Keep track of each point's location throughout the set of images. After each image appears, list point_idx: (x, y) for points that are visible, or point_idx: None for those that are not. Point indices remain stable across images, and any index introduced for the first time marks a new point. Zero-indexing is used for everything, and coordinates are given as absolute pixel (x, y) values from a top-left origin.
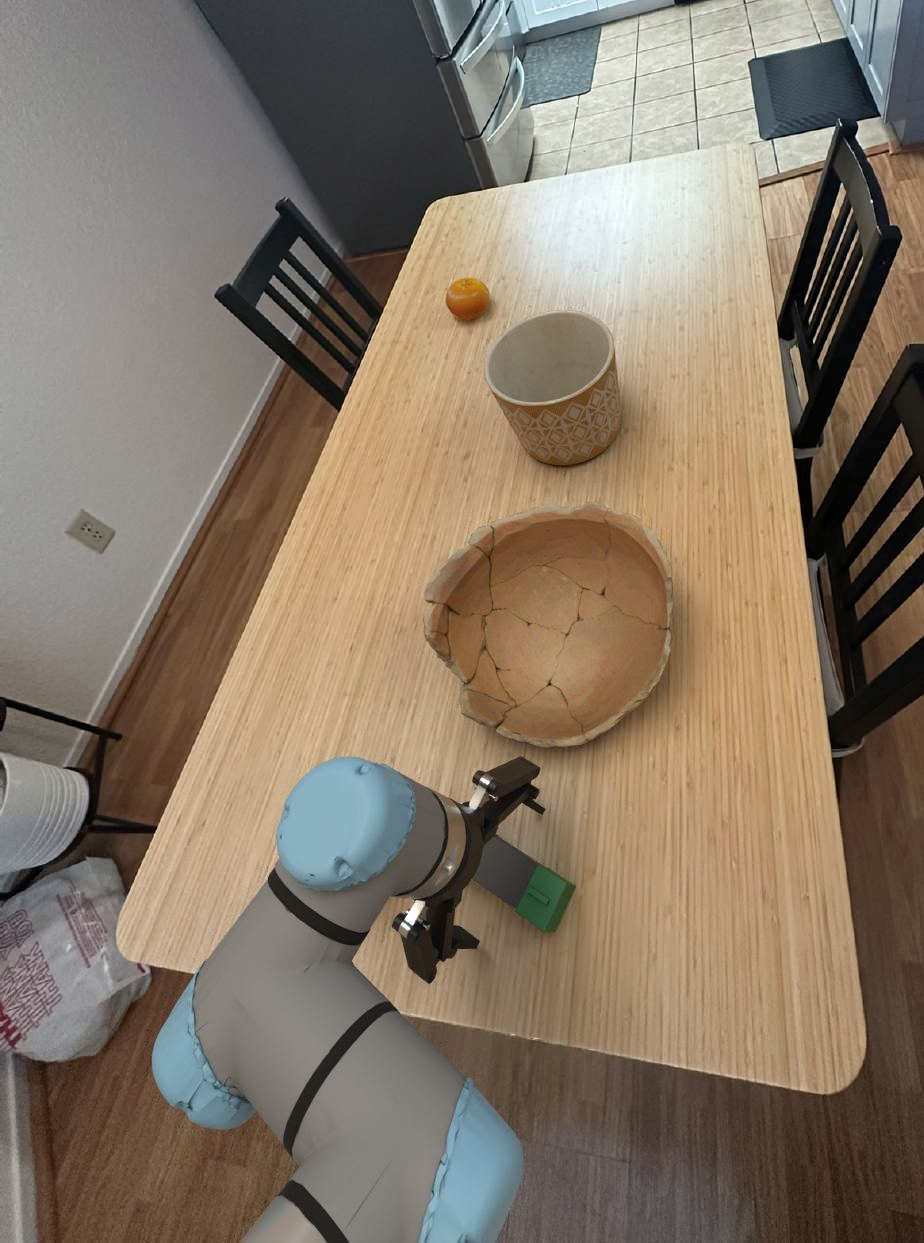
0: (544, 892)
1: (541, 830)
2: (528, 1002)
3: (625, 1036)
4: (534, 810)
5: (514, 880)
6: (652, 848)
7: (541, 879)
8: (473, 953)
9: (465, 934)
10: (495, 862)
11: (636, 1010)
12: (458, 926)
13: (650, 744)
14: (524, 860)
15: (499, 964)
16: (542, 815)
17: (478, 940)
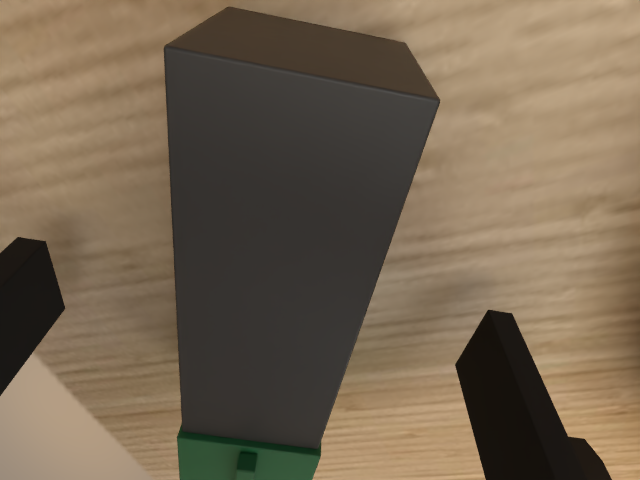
0: (259, 475)
1: (408, 309)
2: (73, 363)
3: (147, 466)
4: (483, 469)
5: (249, 417)
6: (418, 465)
7: (285, 467)
8: (48, 239)
9: (16, 334)
10: (271, 361)
11: None
12: (29, 266)
13: (629, 446)
14: (315, 424)
15: (81, 301)
16: (455, 364)
17: (57, 316)
